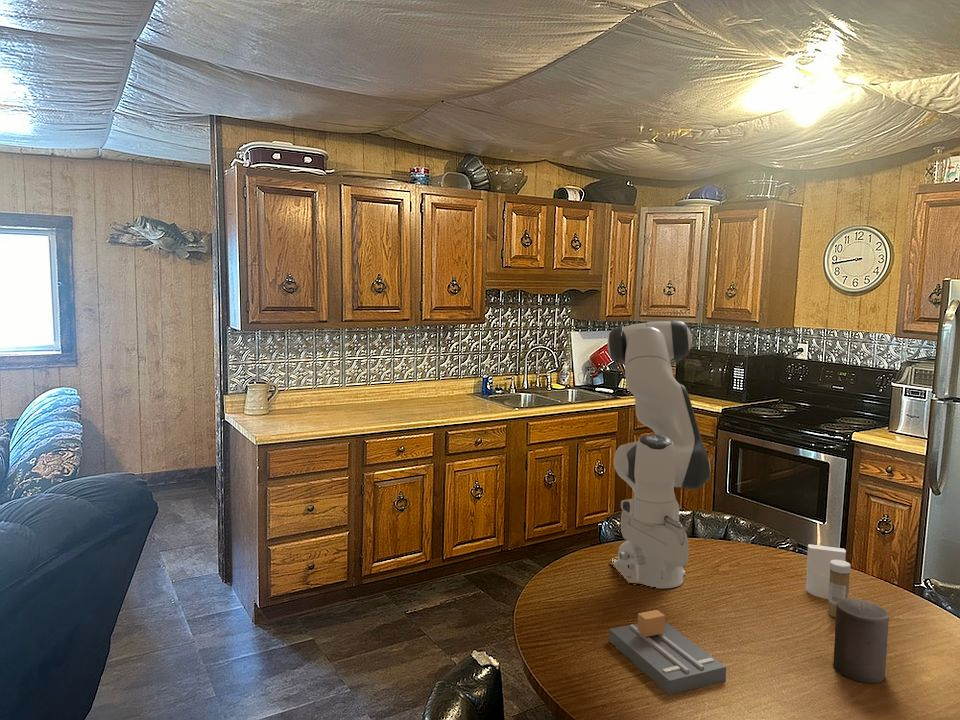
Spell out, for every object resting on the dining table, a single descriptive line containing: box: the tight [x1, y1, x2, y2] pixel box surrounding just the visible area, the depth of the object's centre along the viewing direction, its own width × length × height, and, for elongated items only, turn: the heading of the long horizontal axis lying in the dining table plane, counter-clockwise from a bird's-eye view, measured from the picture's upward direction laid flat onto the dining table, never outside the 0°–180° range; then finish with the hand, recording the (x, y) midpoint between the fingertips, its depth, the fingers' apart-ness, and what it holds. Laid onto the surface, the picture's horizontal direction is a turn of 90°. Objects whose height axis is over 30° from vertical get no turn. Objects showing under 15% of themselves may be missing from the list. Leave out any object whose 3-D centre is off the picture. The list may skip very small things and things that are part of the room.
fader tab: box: [637, 609, 666, 637], centre depth 149 cm, size 3×5×5 cm, turn 111°
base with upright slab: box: [805, 543, 847, 600], centre depth 179 cm, size 9×9×12 cm
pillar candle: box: [832, 598, 890, 684], centre depth 141 cm, size 10×10×15 cm
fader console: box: [608, 621, 727, 696], centre depth 145 cm, size 22×14×4 cm, turn 21°
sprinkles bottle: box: [827, 560, 852, 619], centre depth 166 cm, size 5×5×14 cm
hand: (652, 571), depth 148 cm, fingers open, 8 cm apart
